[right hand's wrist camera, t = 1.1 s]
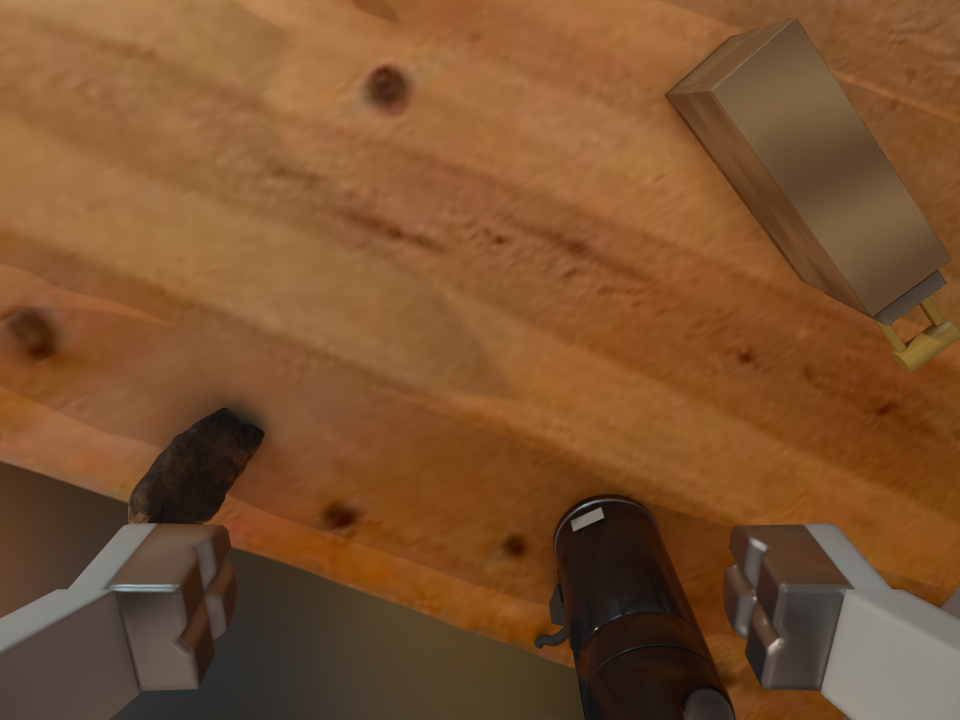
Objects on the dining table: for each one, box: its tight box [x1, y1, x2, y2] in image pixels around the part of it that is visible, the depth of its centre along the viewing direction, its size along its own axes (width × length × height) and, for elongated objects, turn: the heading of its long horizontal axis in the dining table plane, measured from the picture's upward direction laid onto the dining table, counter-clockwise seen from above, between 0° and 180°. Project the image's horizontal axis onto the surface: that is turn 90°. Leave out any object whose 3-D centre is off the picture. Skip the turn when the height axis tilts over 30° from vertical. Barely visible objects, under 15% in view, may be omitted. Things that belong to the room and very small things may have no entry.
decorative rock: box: [128, 408, 265, 524], centre depth 51 cm, size 12×6×11 cm, turn 134°
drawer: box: [825, 270, 960, 372], centre depth 44 cm, size 22×4×8 cm, turn 42°
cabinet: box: [665, 17, 952, 316], centre depth 43 cm, size 18×6×10 cm, turn 42°
